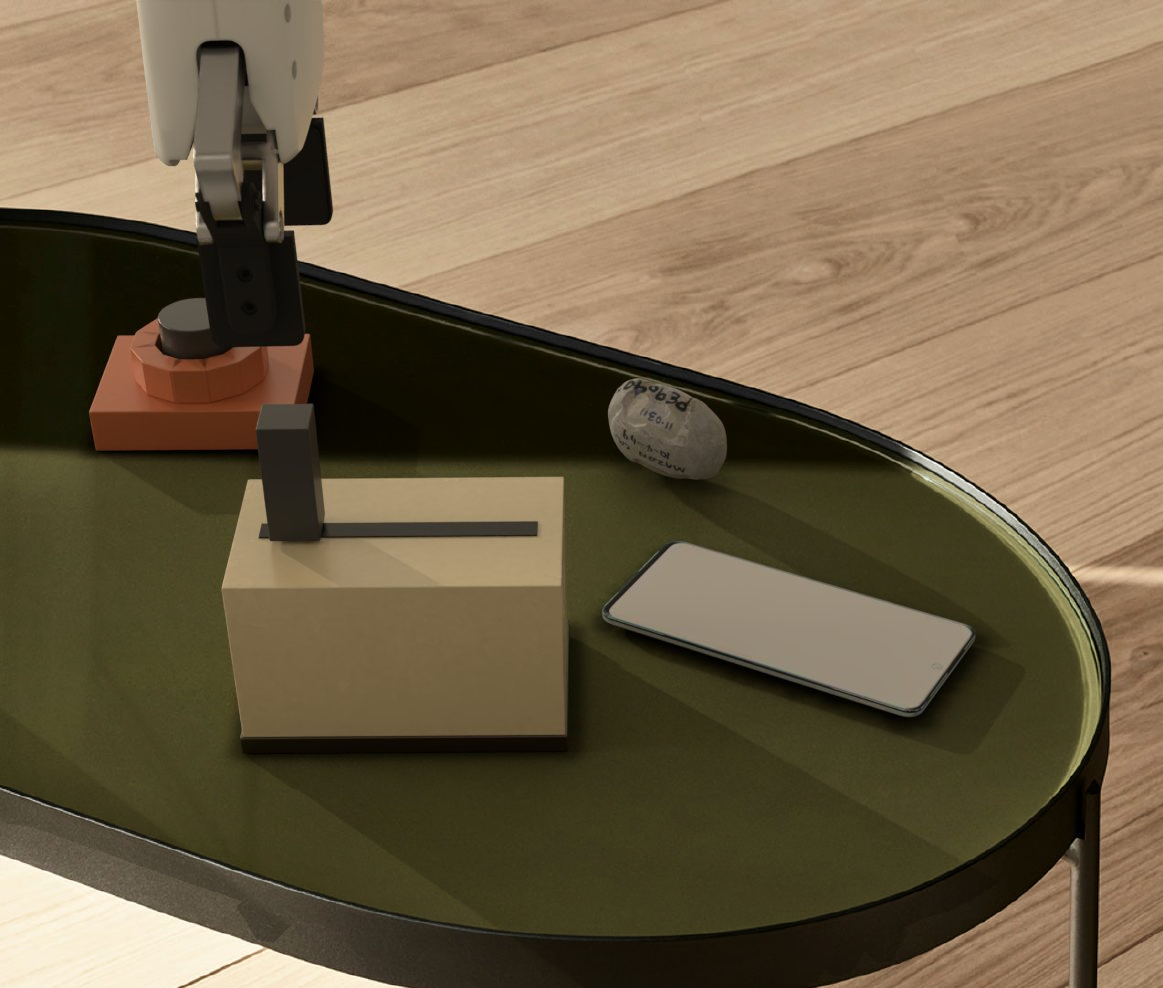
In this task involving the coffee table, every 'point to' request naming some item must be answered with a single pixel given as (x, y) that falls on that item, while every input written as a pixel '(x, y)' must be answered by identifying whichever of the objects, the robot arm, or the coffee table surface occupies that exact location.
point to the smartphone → (792, 627)
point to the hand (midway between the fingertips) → (276, 279)
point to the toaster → (404, 619)
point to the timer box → (193, 394)
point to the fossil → (667, 430)
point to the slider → (290, 472)
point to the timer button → (187, 331)
